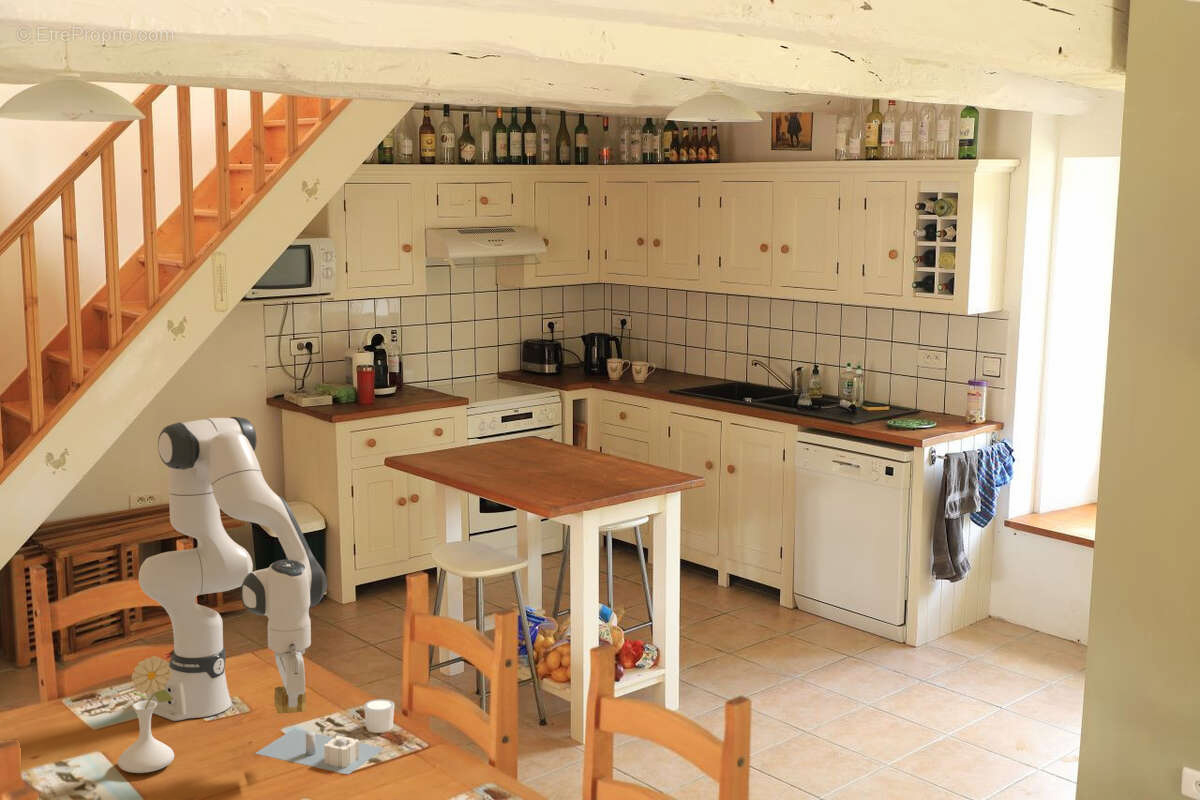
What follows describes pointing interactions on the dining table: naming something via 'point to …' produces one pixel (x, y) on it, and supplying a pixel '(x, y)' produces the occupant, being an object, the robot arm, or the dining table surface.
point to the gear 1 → (282, 702)
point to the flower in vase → (148, 718)
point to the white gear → (341, 752)
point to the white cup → (379, 715)
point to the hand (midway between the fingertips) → (290, 699)
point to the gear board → (298, 751)
